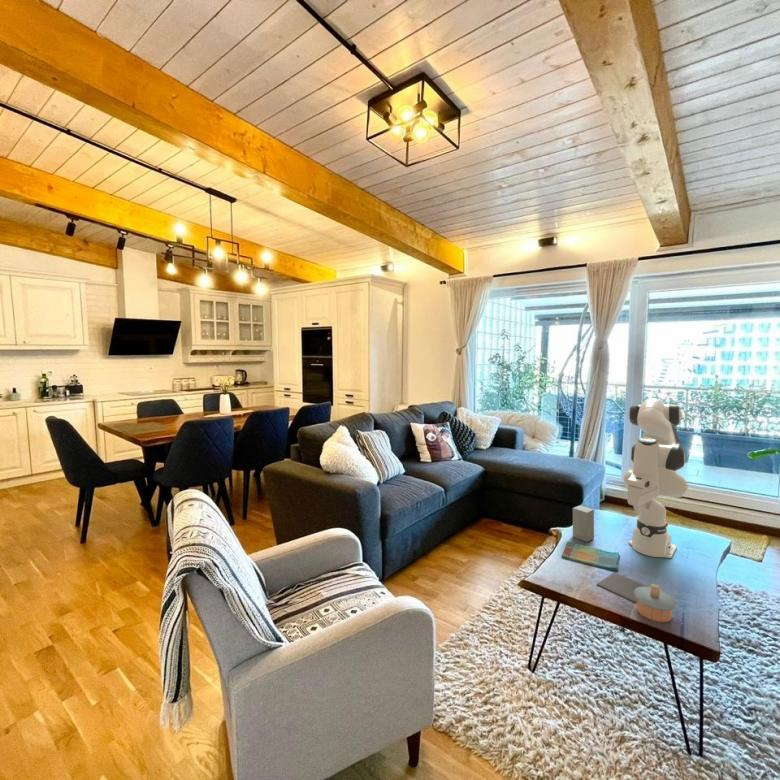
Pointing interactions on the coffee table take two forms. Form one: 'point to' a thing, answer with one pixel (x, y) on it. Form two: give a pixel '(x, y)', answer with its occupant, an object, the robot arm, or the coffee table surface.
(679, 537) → the coffee table surface
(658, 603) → the lid
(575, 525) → the skincare box
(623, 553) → the coffee table surface
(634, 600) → the mat
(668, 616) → the bowl
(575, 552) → the dish towel
